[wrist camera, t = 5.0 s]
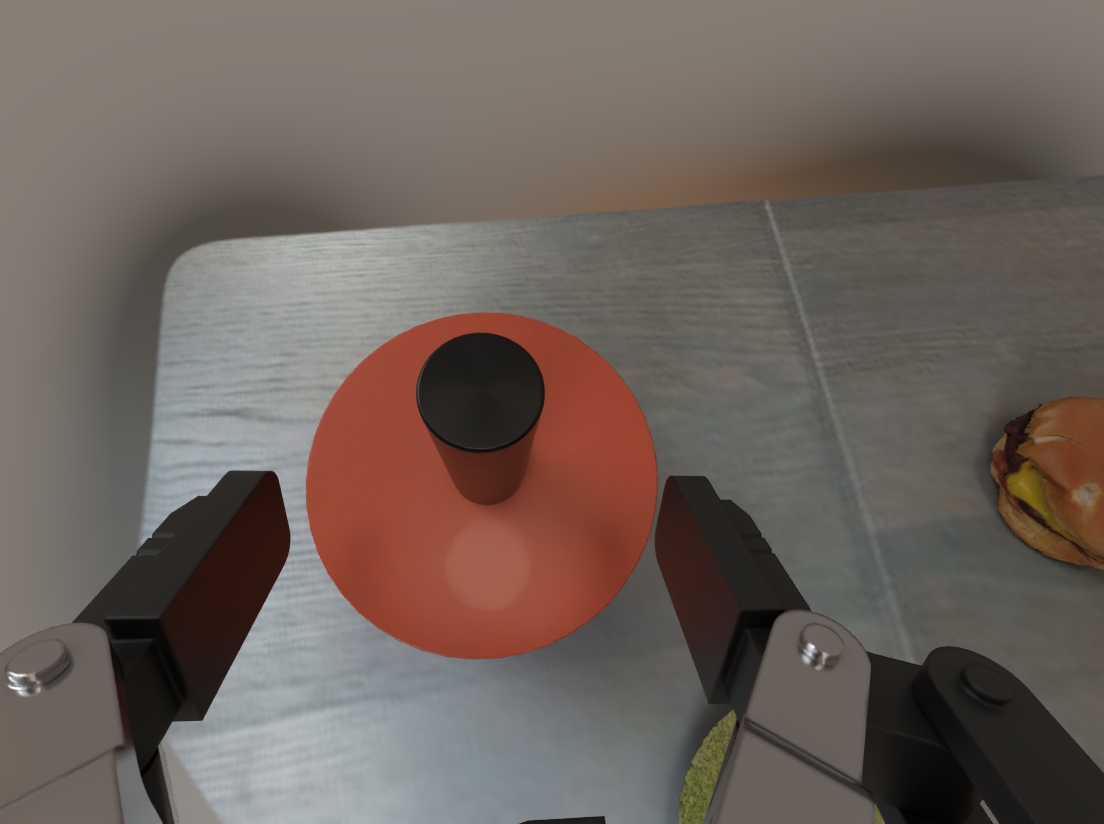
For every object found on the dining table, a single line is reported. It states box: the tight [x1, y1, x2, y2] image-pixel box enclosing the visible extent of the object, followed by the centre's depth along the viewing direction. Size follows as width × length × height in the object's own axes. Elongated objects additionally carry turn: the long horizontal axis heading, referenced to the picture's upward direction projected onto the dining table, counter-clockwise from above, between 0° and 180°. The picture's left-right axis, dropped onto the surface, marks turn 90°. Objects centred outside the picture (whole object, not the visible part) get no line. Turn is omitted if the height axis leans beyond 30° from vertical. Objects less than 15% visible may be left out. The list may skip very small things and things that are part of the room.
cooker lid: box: [306, 313, 658, 659], centre depth 16 cm, size 13×13×10 cm
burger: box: [991, 397, 1104, 570], centre depth 29 cm, size 10×9×5 cm
